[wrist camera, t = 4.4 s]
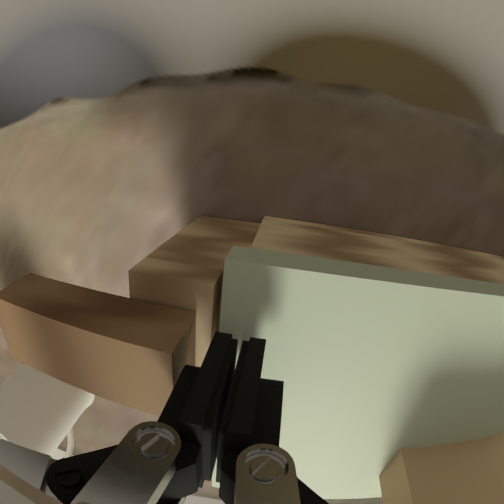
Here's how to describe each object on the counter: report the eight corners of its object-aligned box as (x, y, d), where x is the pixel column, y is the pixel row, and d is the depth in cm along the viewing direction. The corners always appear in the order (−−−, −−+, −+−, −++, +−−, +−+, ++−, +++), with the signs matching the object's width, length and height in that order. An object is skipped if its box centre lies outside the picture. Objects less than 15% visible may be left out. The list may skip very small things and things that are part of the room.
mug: (115, 430, 29) (71, 507, 17) (62, 414, 30) (16, 476, 19) (78, 349, 25) (4, 430, 14) (25, 337, 26) (-43, 398, 15)
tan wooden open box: (530, 262, 17) (603, 315, 8) (470, 398, 22) (505, 469, 13) (201, 207, 19) (128, 257, 10) (195, 378, 24) (156, 469, 15)
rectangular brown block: (195, 311, 11) (171, 353, 8) (195, 375, 12) (175, 420, 9) (30, 273, 11) (-7, 295, 9) (42, 329, 12) (11, 356, 10)
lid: (596, 298, 9) (660, 354, 2) (500, 459, 14) (524, 523, 7) (233, 245, 11) (147, 386, 4) (216, 468, 16) (190, 565, 9)
